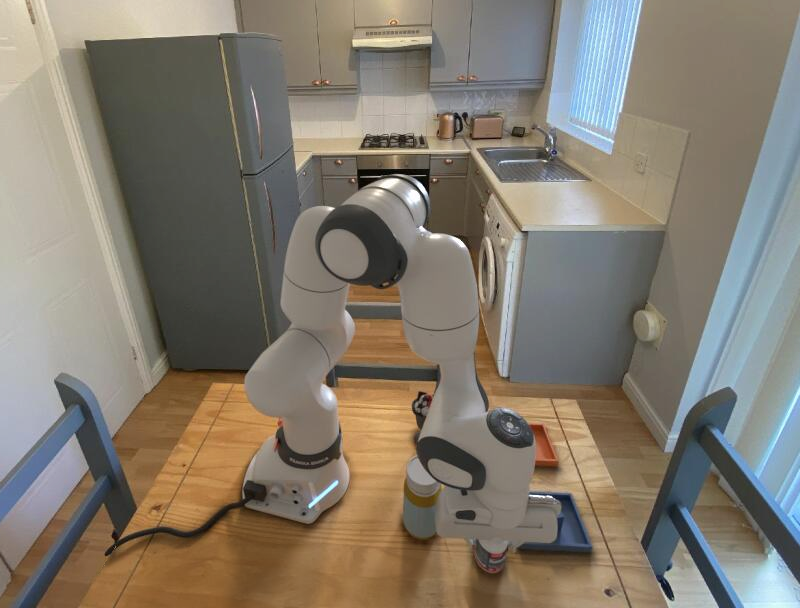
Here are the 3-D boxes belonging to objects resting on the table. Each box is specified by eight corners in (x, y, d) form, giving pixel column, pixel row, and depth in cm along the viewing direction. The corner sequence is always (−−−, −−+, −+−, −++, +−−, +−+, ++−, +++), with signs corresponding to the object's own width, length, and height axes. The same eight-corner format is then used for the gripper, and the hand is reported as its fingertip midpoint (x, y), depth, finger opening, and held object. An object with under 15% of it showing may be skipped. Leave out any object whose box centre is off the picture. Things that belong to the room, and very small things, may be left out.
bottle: (438, 545, 78) (442, 491, 72) (400, 537, 79) (401, 483, 73) (439, 508, 84) (443, 455, 78) (405, 501, 86) (406, 449, 80)
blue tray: (517, 550, 77) (519, 543, 76) (504, 496, 86) (505, 489, 85) (590, 554, 76) (592, 547, 75) (569, 499, 85) (571, 492, 85)
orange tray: (497, 465, 93) (498, 458, 92) (487, 427, 102) (488, 421, 101) (557, 467, 92) (558, 461, 91) (542, 429, 101) (543, 423, 100)
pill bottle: (488, 580, 73) (493, 548, 69) (468, 551, 77) (472, 519, 73) (510, 564, 75) (516, 532, 71) (490, 536, 79) (495, 505, 76)
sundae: (436, 454, 95) (439, 405, 89) (407, 446, 97) (409, 397, 91) (441, 431, 101) (444, 383, 95) (414, 424, 103) (415, 376, 97)
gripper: (556, 479, 72) (544, 531, 77) (435, 474, 73) (432, 525, 78) (570, 518, 66) (556, 570, 71) (439, 511, 67) (435, 563, 72)
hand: (490, 546), depth 75 cm, fingers closed on pill bottle, 5 cm apart
